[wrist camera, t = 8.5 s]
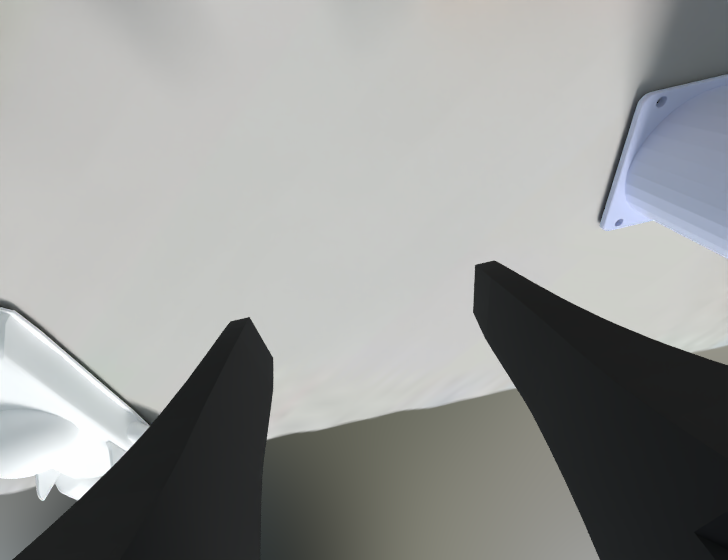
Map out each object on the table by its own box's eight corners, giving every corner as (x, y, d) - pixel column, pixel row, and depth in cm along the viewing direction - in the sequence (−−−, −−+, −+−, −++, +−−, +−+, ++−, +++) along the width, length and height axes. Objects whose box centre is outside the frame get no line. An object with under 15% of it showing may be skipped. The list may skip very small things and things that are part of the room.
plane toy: (8, 268, 18) (-98, 348, 13) (196, 434, 30) (175, 506, 25) (-165, 313, 18) (-331, 407, 13) (92, 460, 30) (52, 535, 25)
